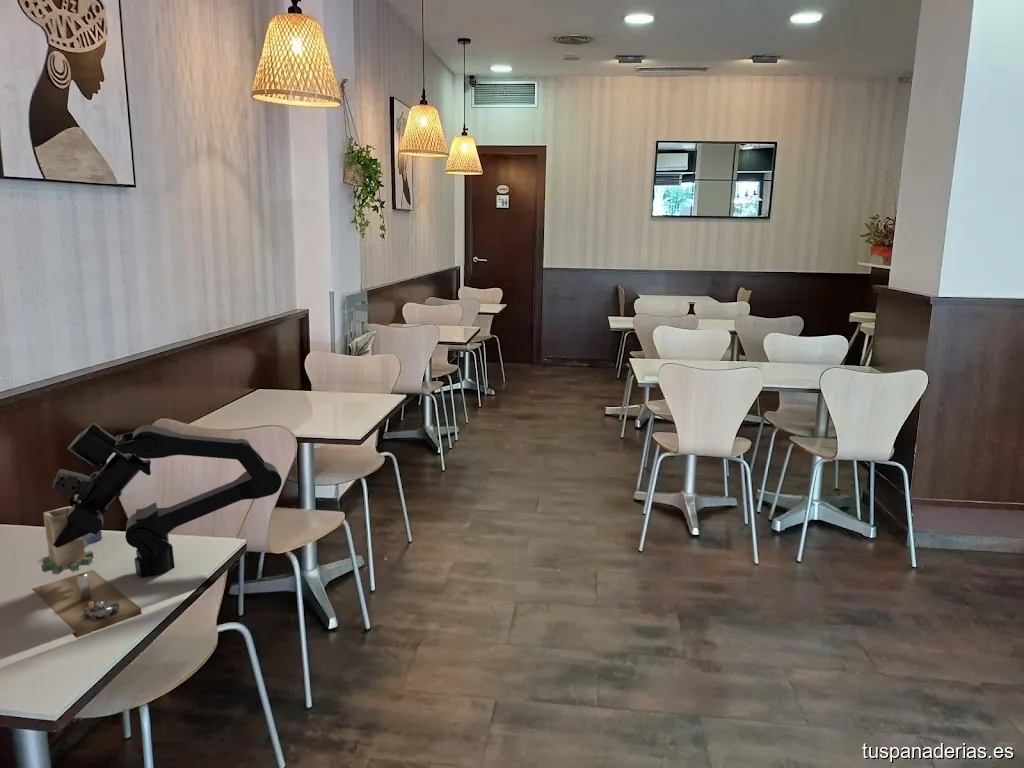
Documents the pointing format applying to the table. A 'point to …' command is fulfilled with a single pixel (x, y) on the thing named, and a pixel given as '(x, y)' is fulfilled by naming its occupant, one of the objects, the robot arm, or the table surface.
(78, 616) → the gear board
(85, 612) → the drive gear
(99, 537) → the flask
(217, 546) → the table surface
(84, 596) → the peg
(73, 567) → the open-ended square tube
